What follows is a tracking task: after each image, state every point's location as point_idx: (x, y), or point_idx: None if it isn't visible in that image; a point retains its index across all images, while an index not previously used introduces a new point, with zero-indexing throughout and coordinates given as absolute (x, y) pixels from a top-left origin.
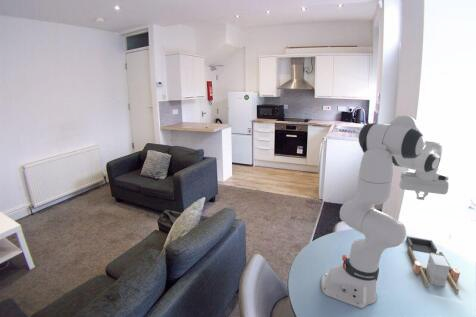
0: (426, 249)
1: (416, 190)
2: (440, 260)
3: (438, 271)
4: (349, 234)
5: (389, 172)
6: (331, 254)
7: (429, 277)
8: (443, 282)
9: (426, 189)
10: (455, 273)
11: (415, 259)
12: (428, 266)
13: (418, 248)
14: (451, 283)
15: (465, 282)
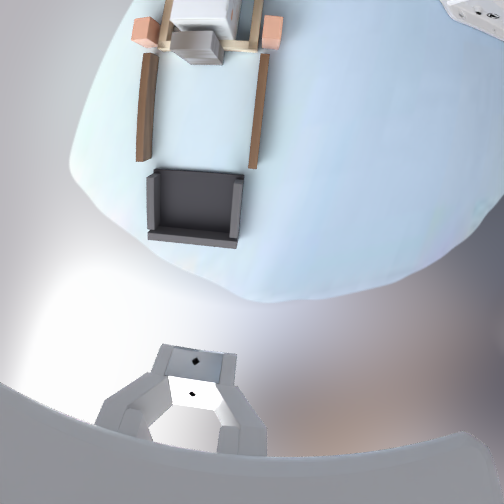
0: (178, 192)
1: (284, 465)
2: None
3: None
4: (430, 240)
5: None
6: (499, 120)
7: (240, 3)
8: None
9: (111, 478)
10: (148, 18)
11: (260, 77)
12: (234, 20)
13: (207, 192)
14: None
15: (124, 40)
